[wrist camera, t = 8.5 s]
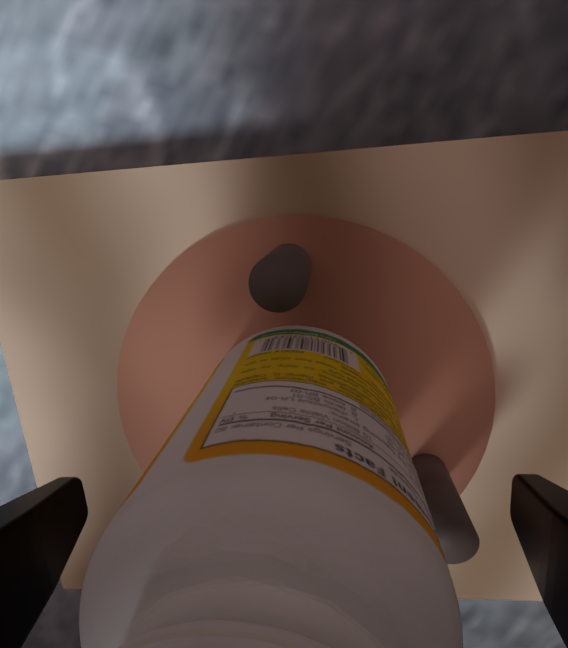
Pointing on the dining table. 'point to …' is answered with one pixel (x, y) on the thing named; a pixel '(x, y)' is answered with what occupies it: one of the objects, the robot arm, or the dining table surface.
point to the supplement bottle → (276, 517)
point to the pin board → (303, 314)
